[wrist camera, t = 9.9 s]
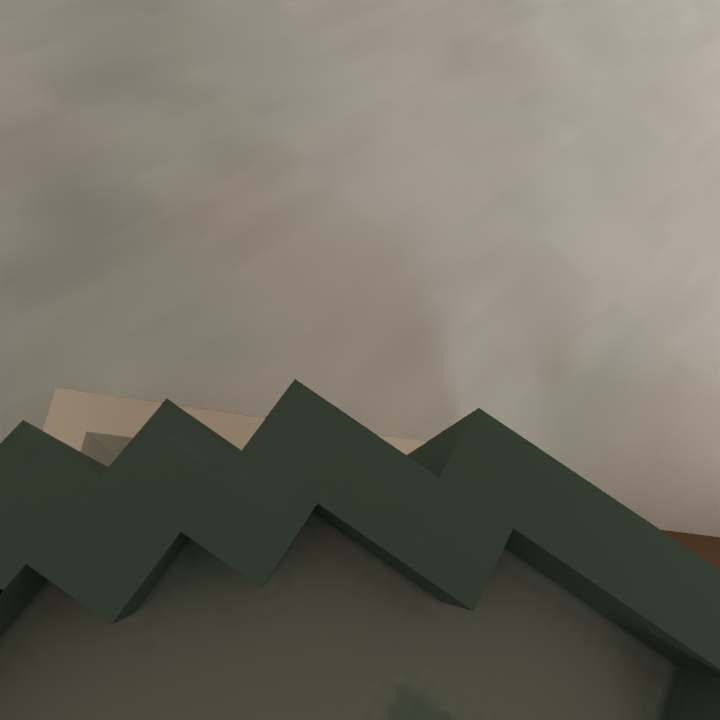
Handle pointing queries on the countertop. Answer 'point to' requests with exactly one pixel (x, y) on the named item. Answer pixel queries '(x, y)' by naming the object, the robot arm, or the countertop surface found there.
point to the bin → (141, 423)
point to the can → (339, 580)
